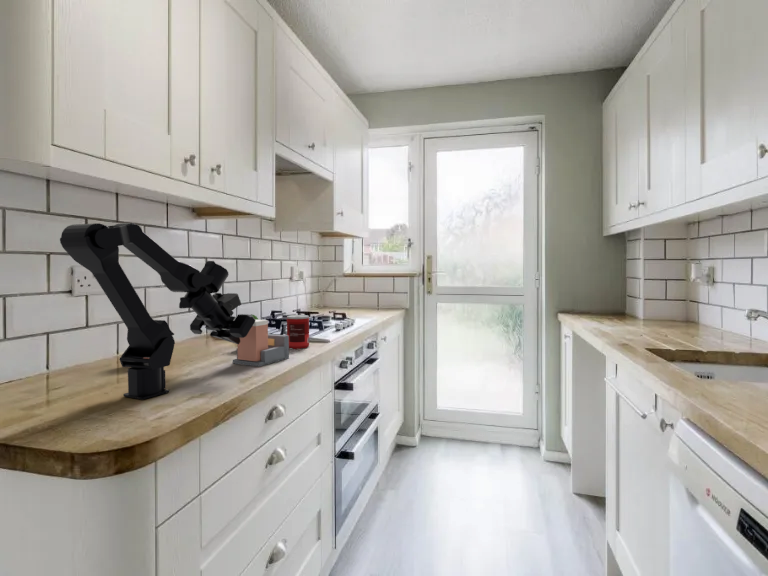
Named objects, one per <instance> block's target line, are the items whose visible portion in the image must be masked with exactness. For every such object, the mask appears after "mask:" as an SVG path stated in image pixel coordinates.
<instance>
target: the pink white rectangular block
mask: <svg viewBox="0 0 768 576" xmlns="http://www.w3.org/2000/svg"><path fill="white" fill-rule="evenodd" d="M268 322H269V320H267V319H258V320H256V319H255V323H254V324H253V326H252V327H251V329H250V331H249V332H248V334H247V336H246V337H244V338H240V343H239V344H236V345H237V348H238V359H239V360H248V361H260V360H261V351H262V350H266V349H268V334H269V323H268ZM237 348H236V349H237Z"/></svg>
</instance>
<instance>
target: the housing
mask: <svg viewBox="0 0 768 576" xmlns="http://www.w3.org/2000/svg"><path fill="white" fill-rule="evenodd" d="M287 359H290V348H289V336H288V335H287V334H286V335H285V334H273V333H268V349H266V350H262V351H261V360H260V361H248V360H239V359H238V348H236V358H235V359H232V364H234V363H235V364H236V365H243V364H244V366H251V367H262V366H266V365H269V364H272V363H278V362H280V361H282V360H287Z"/></svg>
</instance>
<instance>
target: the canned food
mask: <svg viewBox="0 0 768 576" xmlns="http://www.w3.org/2000/svg"><path fill="white" fill-rule="evenodd" d="M286 335H288V336H289V349H290V348H293V349H292V350H302V349H301V348H304V349H307V347H308V348H309V346H310V316H309V315H308V314H307V315H306V314H293V315H287V316H286Z"/></svg>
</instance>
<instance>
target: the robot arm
mask: <svg viewBox="0 0 768 576" xmlns="http://www.w3.org/2000/svg"><path fill="white" fill-rule="evenodd" d="M59 242H60V244H61V247H62V248H63V250H64V251H65V252H66V253H67V254H68V256H70V257H71V258H72V259H73V261H75V262H76V263H77V264H79V265H80V266H82V267H84V268H85V269H86V270H88V271H89V272H90V273H91V274H92V276H93V277H94V278H95V280H96V282H97V283H98V285H99V286H100V288H101V289H102V291H103V292H104V295H106V297H107V299H108V300H109V301H110V303H111V305H112V307H114V309H115V311H116V313H117V314H118V316H119V317H120V319H121V320H122V322H123V323H124V325H125V326H126V328H127V334H126V335H127V336H126V340H127V344H128V346H127V348H126V349H125V350H124V352H123V353H122V355H121V356H120V357H119V362H120V365H121V367H122V368H127V390H128V391H127V392H126V393H123V397H125V398H131V399H136V400H147V399H150V398H154V397H157V396H161V395H164V394H168V393H169V392H170V389H167V388H166V387H167V385H166V383H167V382H166V370H165V367H169V366H170V364H171V361H172V356H173V353H174V349H175V344H176V343H175V338H174V335H175V333H174V332H173V331H172V330H171V329H170V327H169V323H168V322H167V321H166V320H164V319H163V320H162V319H161V320H160V319H154V318H153V317H152V316H151V314H150V313H149V312H148V309H147V307H146V306H145V305H144V303H143V301H142V300H141V298H140V296H139V293H137V292H136V289H135V287H133V285H132V282H130V280H129V278H128V276H127V275H126V272H125V270H124V269H123V268H122V266H121V264H120V263H119V255H120V254H119V252H120V248H119V247H120V246H123V247H124V248H125V249H126V250H128V251H129V252H130V253H132V254H133V255H134V256H136V257H137V258H138V259H140V261H142V262H143V263H145V264H146V265H147V266H149V267H150V268H151V269H153V271H155V272H156V273H157V274H158V275H159V276H160V280H161V283H162V284H164V286H165V287H166V288H167V289H168V290H169V292H173V293H185V294H184V296H183V297H182V296H181V297H179V304H178V308H179V309H191V310H193V312H194V313H195V314H196V316H194V319H193V320H192V321H191V323H190V324H189V330H190V331H191V332H192V333H193V334H195V335H202V334H203V330H202V327H203V326H205V327H204V328H205V329H206V331H209V332H210V333H209V336H211V337H213V338H216V339H220V340H223V341H227V342H229V343H232V344H235V345H237V344H239V343H240V338H244V337H246V336H247V334H248V332H249V331H250V329H251V327H252V326H253V324H254V323H255V319H254V317H253V316H252V315H253V314H252V315H251V314H247V313H246V314H245V313H244V314H243V313H239V314H237V316H233V314H234V310H235V309H236V308H238V307H240V306H242V302H241V299H240V296H239V294H238V293H235V292H234V293H233V292H230V293H229V292H228V293H223V294H222V293H221V292H219V291H220V290H221V288H222V287H223V285H224V283H225V282H226V280H227V279H228V277H229V271H228V270H227V268H224V266H222V265H220V264H218V263H216V262H215V261H214V260H207V261H206V263H204V266H203V268H202V269H201V270H199V269H197V268H196V267H194V266H192V265H190V264H189V263H188V264H187V263H185V262H182V261H180V260H177V259H176V258H175V257H174V256H172V255H171V253H169V252H168V251H167V250H165V248H163V247H162V246H161V245H159V244H158V242H156V241H155V240H153V238H151V237H150V236H149V235H148V234H147V233H145V232H144V231H143V229H142V227H141V226H140V225H139V224H136V223H133V222H129V223H115V224H114V225H105V224H103V223H96V222H95V223H79V224H70V225H67V226H66V227H65V228H64V229H63V230H62V231H61V237H60V238H59ZM144 357H146V358H149V359H145V358H144Z"/></svg>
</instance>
